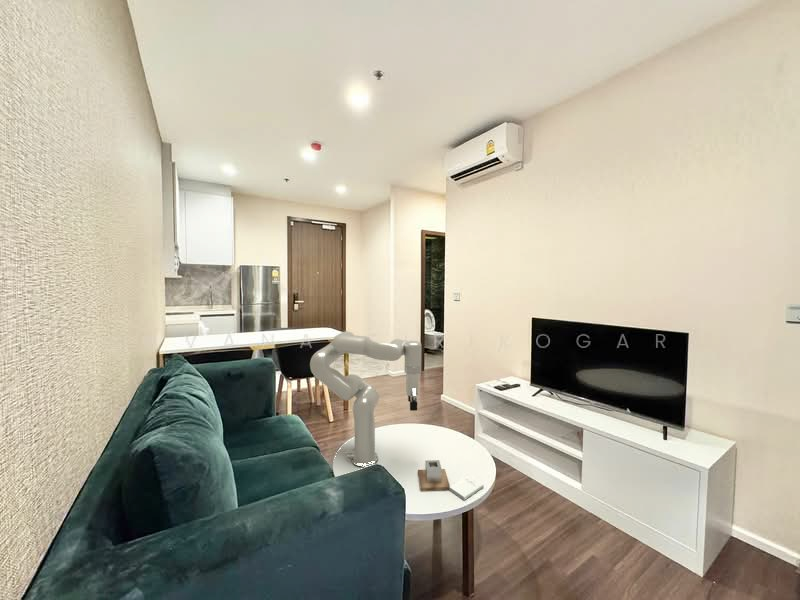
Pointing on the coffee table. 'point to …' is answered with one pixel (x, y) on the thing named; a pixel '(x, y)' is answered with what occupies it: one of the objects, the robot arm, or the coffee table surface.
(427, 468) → the grey hollow cube
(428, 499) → the coffee table surface
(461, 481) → the external hard drive
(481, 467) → the coffee table surface
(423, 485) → the shaft block
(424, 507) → the coffee table surface
